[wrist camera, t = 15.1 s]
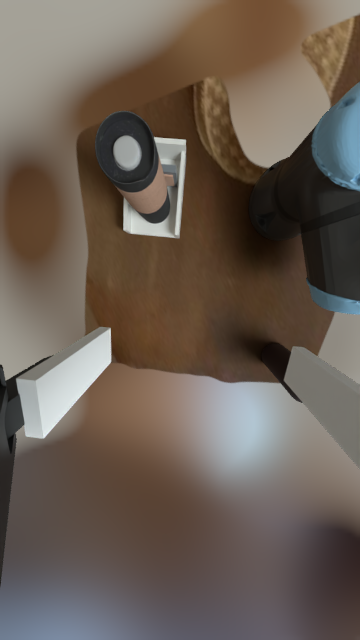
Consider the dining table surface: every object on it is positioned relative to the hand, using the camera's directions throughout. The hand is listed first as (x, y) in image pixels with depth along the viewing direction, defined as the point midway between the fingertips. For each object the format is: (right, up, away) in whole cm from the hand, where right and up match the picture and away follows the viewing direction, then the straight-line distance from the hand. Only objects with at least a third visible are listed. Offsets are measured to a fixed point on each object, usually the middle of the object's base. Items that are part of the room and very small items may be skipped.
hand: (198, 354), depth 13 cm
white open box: (-7, +30, +28) cm, 42 cm away
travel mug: (-7, +28, +28) cm, 40 cm away
